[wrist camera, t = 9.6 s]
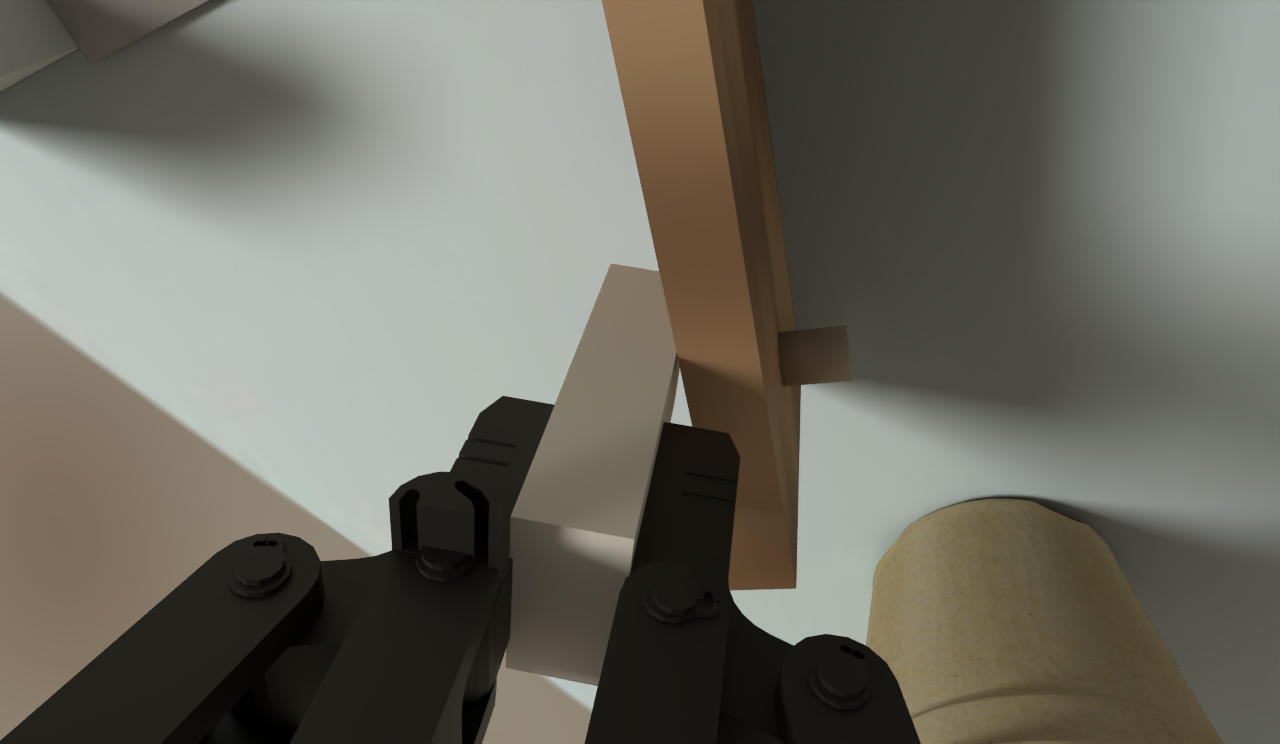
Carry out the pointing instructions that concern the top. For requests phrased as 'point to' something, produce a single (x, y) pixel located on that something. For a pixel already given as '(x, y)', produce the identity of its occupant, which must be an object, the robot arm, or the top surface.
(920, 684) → the flower pot
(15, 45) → the wall
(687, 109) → the door
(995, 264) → the top surface
